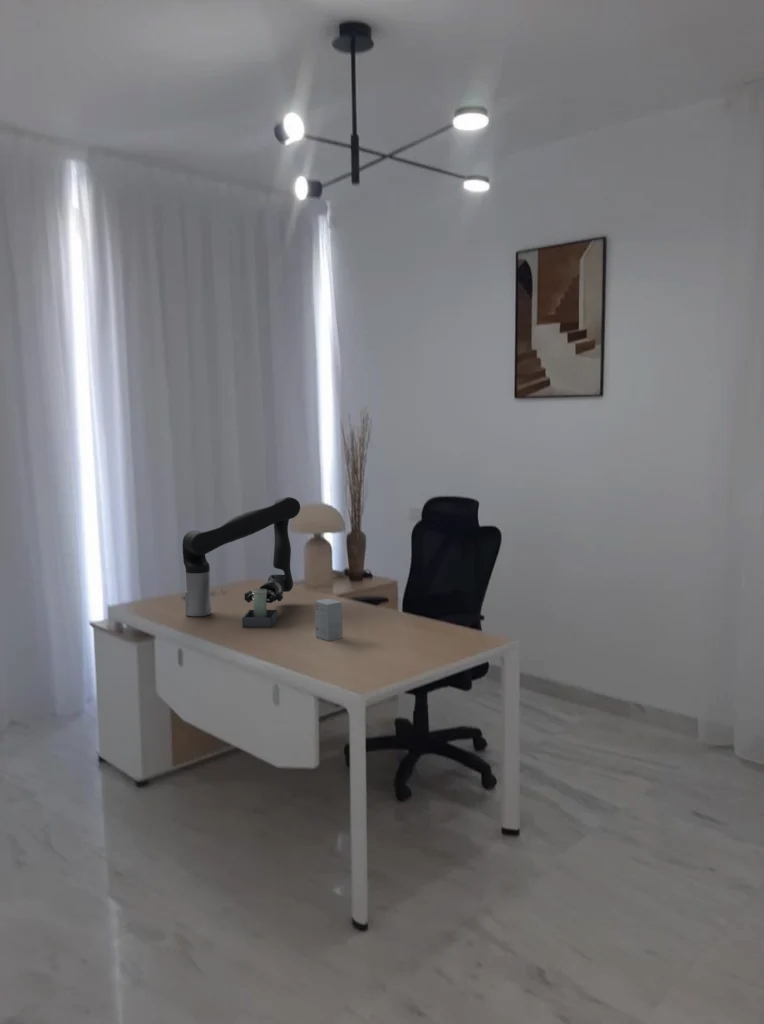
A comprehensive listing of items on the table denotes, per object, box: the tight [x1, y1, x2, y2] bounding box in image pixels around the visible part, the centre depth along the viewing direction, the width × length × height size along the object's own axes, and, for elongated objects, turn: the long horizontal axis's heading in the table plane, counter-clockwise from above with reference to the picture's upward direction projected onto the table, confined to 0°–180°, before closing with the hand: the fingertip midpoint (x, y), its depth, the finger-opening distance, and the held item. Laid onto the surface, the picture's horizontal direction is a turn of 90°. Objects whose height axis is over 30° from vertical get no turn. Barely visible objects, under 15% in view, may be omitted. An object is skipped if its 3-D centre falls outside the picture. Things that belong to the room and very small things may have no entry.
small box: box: [314, 598, 343, 642], centre depth 283 cm, size 8×6×13 cm
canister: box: [252, 588, 268, 618], centre depth 305 cm, size 5×5×12 cm
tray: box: [241, 609, 279, 628], centre depth 305 cm, size 11×13×4 cm
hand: (259, 600), depth 304 cm, fingers open, 8 cm apart
